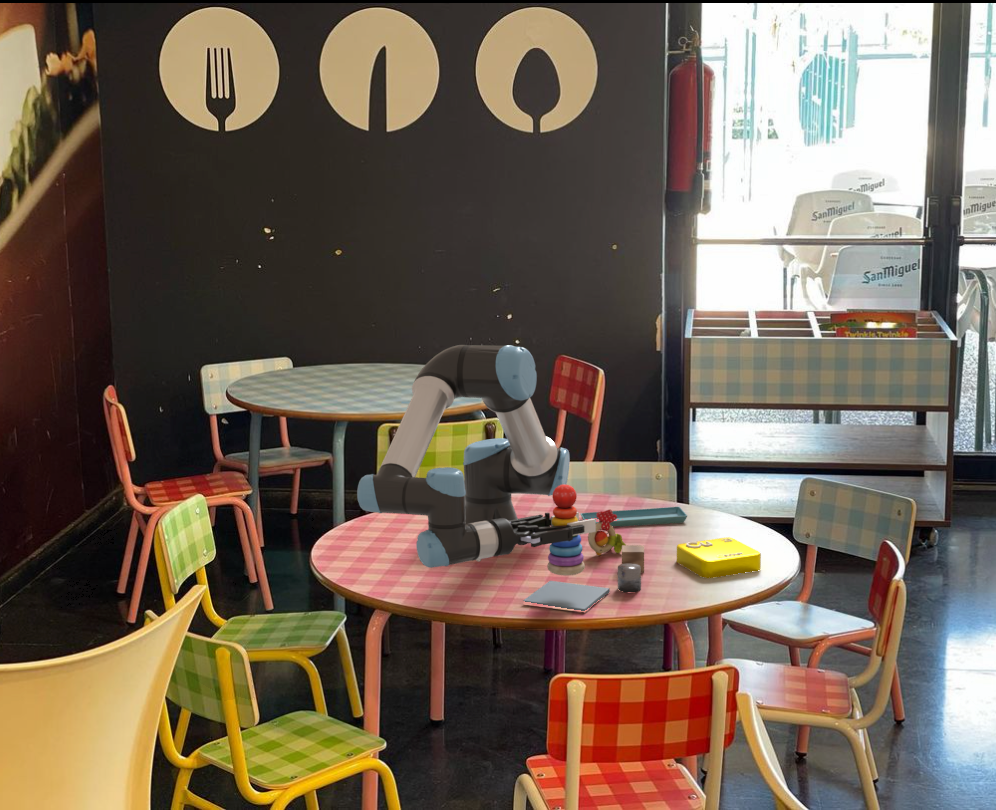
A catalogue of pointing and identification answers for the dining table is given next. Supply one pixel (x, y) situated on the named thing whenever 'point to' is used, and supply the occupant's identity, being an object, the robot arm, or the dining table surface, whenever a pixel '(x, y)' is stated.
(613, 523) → the rectangular tray
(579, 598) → the pad
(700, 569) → the element tile
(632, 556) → the walnut cube
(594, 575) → the dining table surface
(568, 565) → the stacking toy
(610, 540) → the bird rattle
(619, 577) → the graphite cylinder
